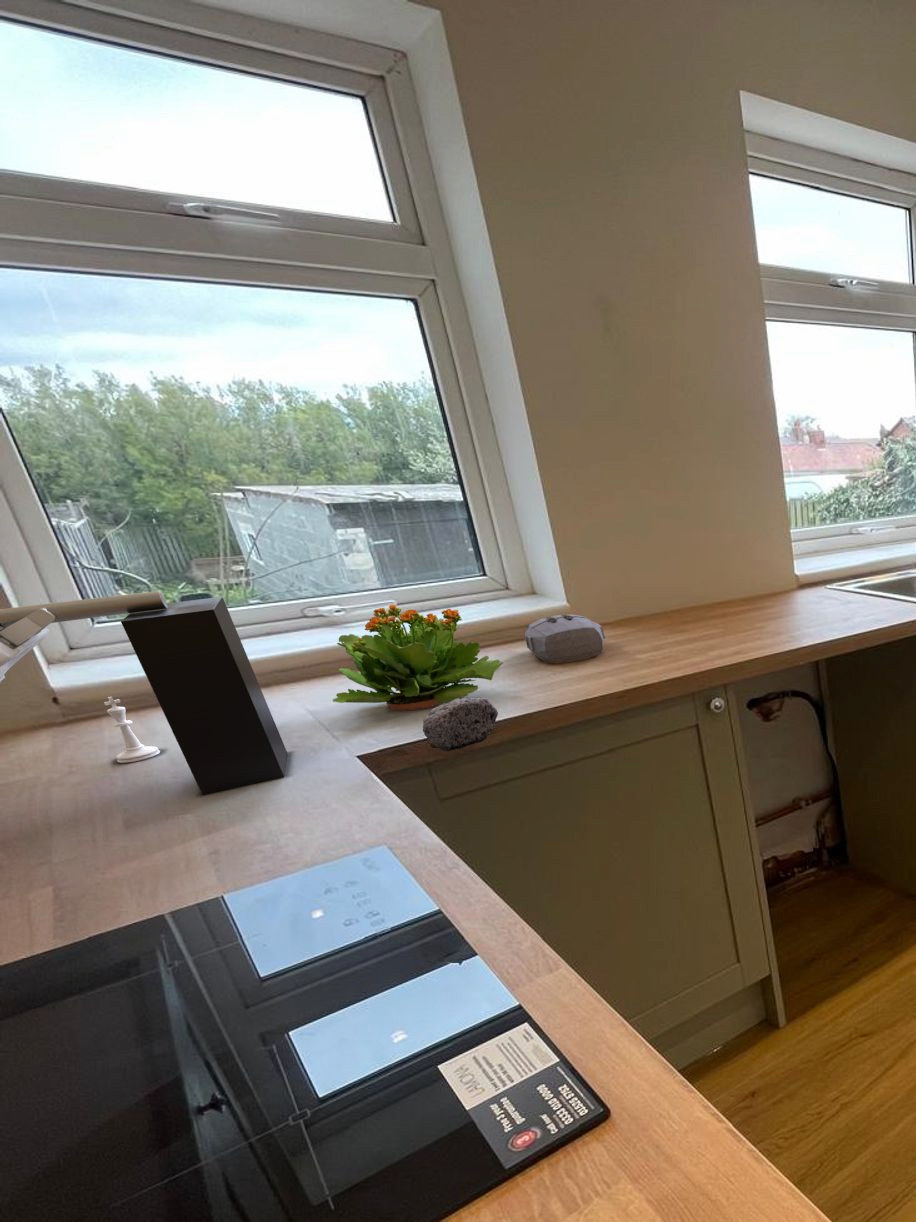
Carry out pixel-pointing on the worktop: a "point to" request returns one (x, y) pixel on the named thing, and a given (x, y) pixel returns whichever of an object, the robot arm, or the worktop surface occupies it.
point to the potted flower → (412, 661)
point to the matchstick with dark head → (89, 607)
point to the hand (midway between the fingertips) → (54, 609)
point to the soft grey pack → (564, 638)
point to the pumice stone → (460, 723)
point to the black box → (208, 693)
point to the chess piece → (129, 736)
